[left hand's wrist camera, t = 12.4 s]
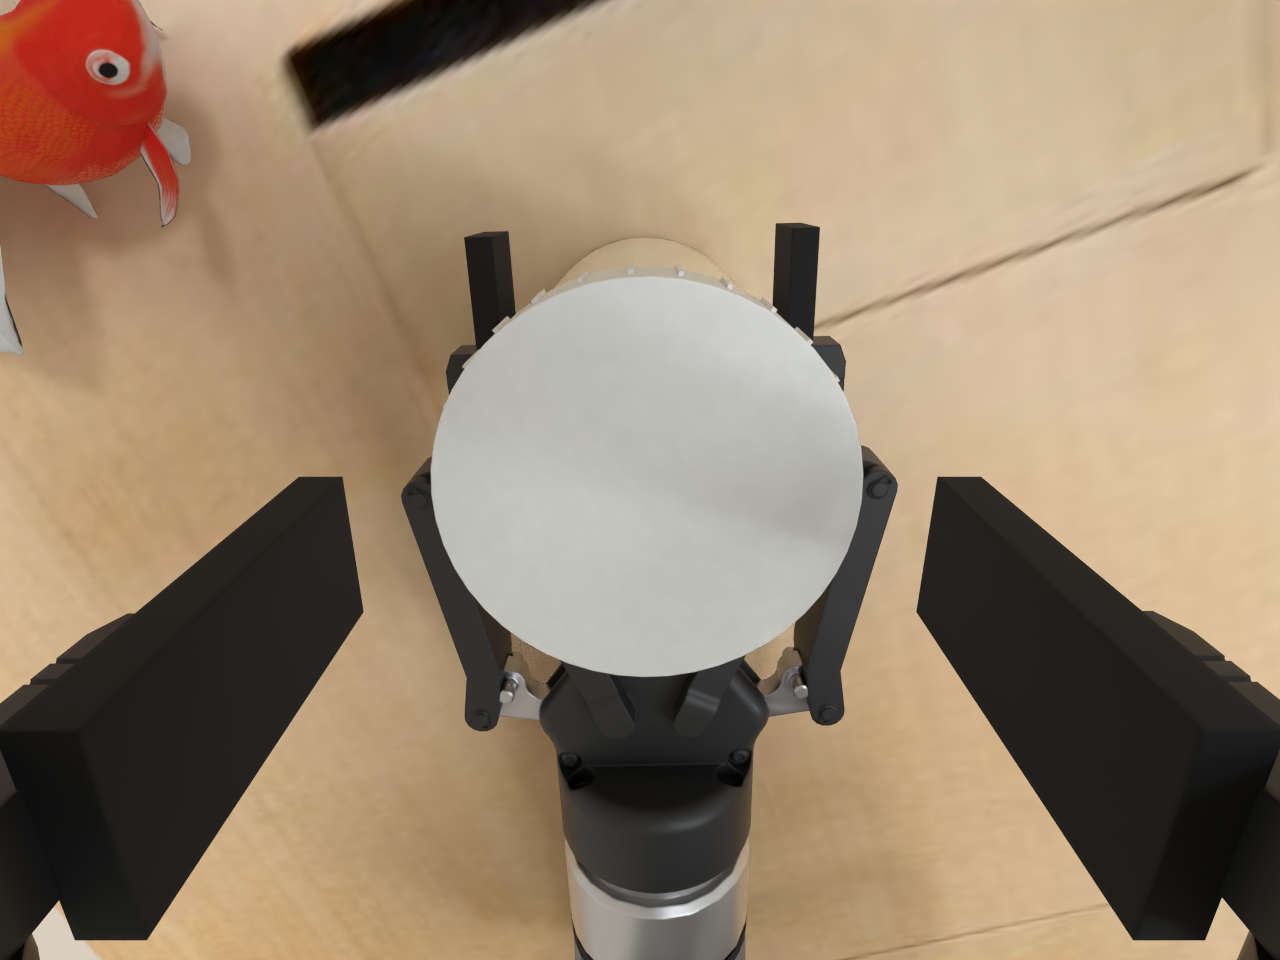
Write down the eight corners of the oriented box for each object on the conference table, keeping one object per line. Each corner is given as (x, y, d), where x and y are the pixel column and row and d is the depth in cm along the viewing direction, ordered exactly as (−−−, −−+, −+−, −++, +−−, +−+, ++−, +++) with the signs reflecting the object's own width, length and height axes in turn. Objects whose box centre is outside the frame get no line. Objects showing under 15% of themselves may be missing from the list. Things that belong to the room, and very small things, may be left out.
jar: (552, 221, 28) (458, 256, 14) (769, 254, 28) (892, 321, 14) (531, 430, 31) (438, 632, 17) (728, 457, 31) (796, 677, 17)
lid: (460, 231, 15) (436, 237, 13) (889, 296, 15) (921, 310, 14) (440, 608, 18) (418, 653, 16) (795, 653, 19) (811, 702, 17)
